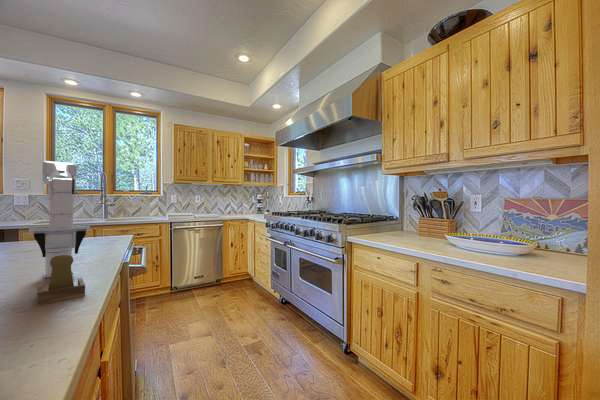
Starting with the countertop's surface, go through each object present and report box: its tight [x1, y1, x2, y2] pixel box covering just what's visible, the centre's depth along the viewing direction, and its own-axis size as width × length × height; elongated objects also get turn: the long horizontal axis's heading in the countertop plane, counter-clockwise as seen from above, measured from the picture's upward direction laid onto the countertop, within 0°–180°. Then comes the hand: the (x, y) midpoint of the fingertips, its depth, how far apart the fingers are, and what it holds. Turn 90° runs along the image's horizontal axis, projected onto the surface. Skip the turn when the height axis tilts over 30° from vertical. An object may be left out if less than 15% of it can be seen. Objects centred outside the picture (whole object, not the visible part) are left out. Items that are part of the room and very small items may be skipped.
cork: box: [47, 255, 75, 291], centre depth 76 cm, size 6×6×11 cm
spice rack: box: [36, 277, 86, 306], centre depth 75 cm, size 10×10×3 cm
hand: (60, 254), depth 83 cm, fingers open, 7 cm apart
